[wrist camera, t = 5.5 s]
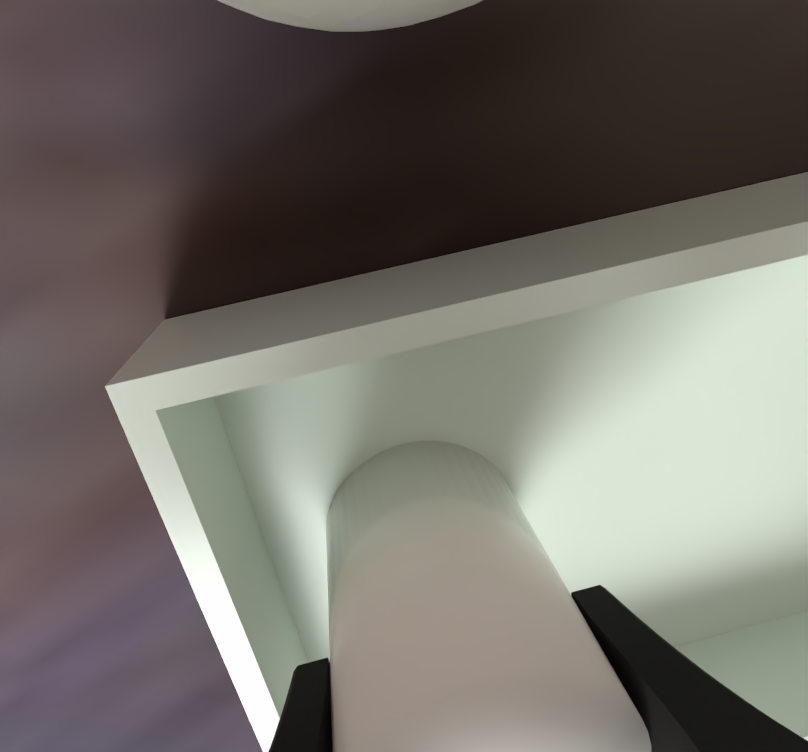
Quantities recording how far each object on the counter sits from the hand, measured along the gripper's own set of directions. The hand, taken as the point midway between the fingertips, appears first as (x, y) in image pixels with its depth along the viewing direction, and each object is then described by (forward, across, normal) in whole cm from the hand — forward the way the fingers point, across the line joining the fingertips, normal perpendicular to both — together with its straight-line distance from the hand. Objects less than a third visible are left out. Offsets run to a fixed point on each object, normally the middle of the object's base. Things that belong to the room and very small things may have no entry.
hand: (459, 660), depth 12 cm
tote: (+5, -5, 0) cm, 7 cm away
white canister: (+4, 0, 0) cm, 4 cm away
